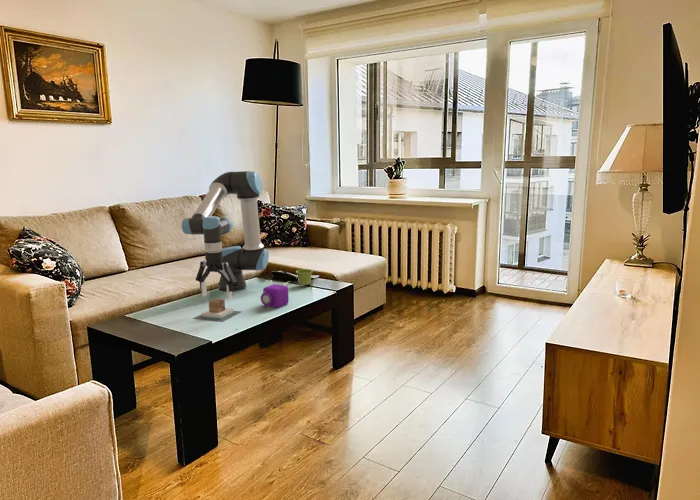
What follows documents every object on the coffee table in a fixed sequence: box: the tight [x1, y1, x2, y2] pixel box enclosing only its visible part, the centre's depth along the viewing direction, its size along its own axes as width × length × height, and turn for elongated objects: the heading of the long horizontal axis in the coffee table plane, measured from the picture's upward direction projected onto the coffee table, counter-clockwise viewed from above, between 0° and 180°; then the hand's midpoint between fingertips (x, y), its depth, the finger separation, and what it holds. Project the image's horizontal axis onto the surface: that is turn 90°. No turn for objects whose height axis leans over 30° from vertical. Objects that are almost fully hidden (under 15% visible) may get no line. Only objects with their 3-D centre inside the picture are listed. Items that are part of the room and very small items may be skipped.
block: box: [208, 298, 226, 313], centre depth 223 cm, size 5×5×5 cm
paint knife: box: [280, 274, 320, 285], centre depth 289 cm, size 30×14×2 cm, turn 151°
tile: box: [201, 307, 235, 319], centre depth 224 cm, size 10×2×10 cm
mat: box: [191, 310, 242, 323], centre depth 224 cm, size 16×16×1 cm
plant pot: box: [295, 268, 313, 285], centre depth 276 cm, size 9×9×9 cm
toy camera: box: [260, 283, 290, 309], centre depth 238 cm, size 11×14×10 cm
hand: (217, 297), depth 223 cm, fingers open, 13 cm apart
